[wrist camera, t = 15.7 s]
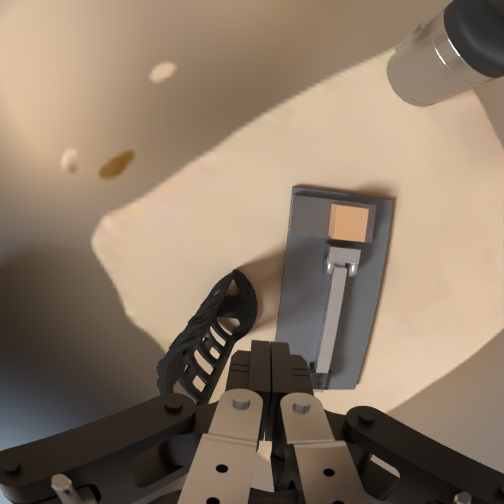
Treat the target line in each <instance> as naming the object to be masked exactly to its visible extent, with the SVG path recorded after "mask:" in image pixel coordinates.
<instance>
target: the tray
mask: <svg viewBox="0 0 504 504" xmlns="http://www.w3.org/2000/svg"><path fill="white" fill-rule="evenodd" d="M292 195H299V196H308V197H317V198H326V199H334V200H342V201H350V202H357V203H365V204H372V205H376V213H375V221H374V229H373V236H372V243H365V242H355V241H346V240H336V239H326V238H316V237H306V236H296V235H289V226H288V236H287V245H286V254H285V263H284V272H283V281H282V290H281V298H280V306H279V314H278V322H277V330H276V338H275V342H286V343H289V350H290V354H292V355H301V356H302V357H303V358H304V359H305V361H306V362H307V365H308V367H309V363H313V362H314V357H315V352H316V347H317V341H318V336H319V331H320V325H321V319H322V314H323V308H324V302H325V296H326V289H327V283H328V276H329V275H324V274H323V258H324V248H325V242H330V243H340V244H350V245H355V246H356V247H357V248H359V249H360V250H361V252H360V259H359V264H358V271H357V274H356V276H355V277H348V276H347V275H346V280H345V287H344V293H343V299H342V305H341V311H340V316H339V322H338V327H337V332H336V337H335V342H334V347H333V352H332V357H331V362H330V368H329V370H331V372H332V375H331V380H330V384H329V388H328V389H355V388H356V384H357V381H358V377H359V374H360V370H361V367H362V363H363V359H364V355H365V352H366V348H367V344H368V340H369V336H370V332H371V327H372V323H373V319H374V314H375V310H376V305H377V300H378V295H379V290H380V285H381V280H382V274H383V269H384V263H385V257H386V251H387V244H388V238H389V231H390V223H391V216H392V207H393V200H389V199H382V198H375V197H369V196H362V195H354V194H347V193H339V192H331V191H323V190H315V189H306V188H297V187H292ZM291 203H292V196H291ZM290 213H291V206H290ZM289 223H290V216H289ZM345 267H346V263H345Z"/></svg>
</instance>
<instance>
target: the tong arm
mask: <svg viewBox="0 0 504 504" xmlns="http://www.w3.org/2000/svg"><path fill="white" fill-rule="evenodd" d="M346 274H347V268H346V267H341V266H334V269H333V272H332V274H331V279H330V286H329V292H328V299H327V305H326V311H325V317H324V323H323V329H322V335H321V340H320V346H319V351H318V356H317V361H316V366H315V369H311V371H310V379H311V384H312V388H313V392H324V390H328V388H329V384H330V380H331V375H332V372H331V370H329V366H330V362H331V357H332V352H333V347H334V342H335V337H336V332H337V327H338V322H339V316H340V311H341V305H342V299H343V293H344V287H345V280H346Z"/></svg>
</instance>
